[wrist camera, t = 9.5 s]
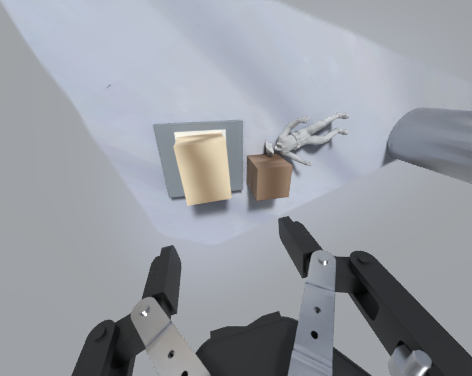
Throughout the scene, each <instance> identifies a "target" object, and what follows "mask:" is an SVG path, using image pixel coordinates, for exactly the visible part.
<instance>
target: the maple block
mask: <svg viewBox="0 0 472 376" xmlns="http://www.w3.org/2000/svg"><path fill="white" fill-rule="evenodd" d="M174 151H175V155H176V160H177V164H178V168H179V172H180V176H181V180H182V185H183V189H184V193H185V197H186V201H187V205H188V206H189V205H195V204H201V203H207V202H213V201H219V200H225V199H231V198H232V197H231V187H230V177H229V167H228V157H227V147H226V140H225V138H224V137H223V135H222V133H221V132H218V133H210V134H201V135H192V136H184V137H177V139H176V142H175V144H174Z"/></svg>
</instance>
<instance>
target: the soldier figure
mask: <svg viewBox="0 0 472 376" xmlns="http://www.w3.org/2000/svg"><path fill="white" fill-rule="evenodd" d="M348 117H349V114H348V113H341V112H338V113H336V114H335V115H333V116H330V117H327V118H326V119H324V120H321V121H318V122H317V123H315V124H312V125H310V126H307V127H306V128H304V129H300V130H298V131H295V132H293V133H291V134H292V135H288V134H289V132H290V130H291V129H293V128H294V127H295V126H297V125H298V124H299V123H307V122H305V121H310V120H306V119H310V117H309V116H305V117H302V118H300V119H297V120H295V121H293V122H292V123H290V124H289V125H287V127H286V128H285V129H284V130H283V132H282V133H281V134H280V135H279V137H278V141H277V144H276V145H275V150H277V151H280V153H281V155H284V156H287V157H289V158H291V159H293V160H295V161H297V162H299V163H302V164H305V165H308V166H311V165H312V163H310V162H307V161H303V159H302V158H300V157H298V156H297V155H295V154H294V153H292V152H290V151H291V150H296V149H299V148H300V147H301V146H304V145H305V144H324V143H325V142H328V141H329V140H330V139H331V138H332V137H333V136H334V135H336V134H337V133H340V134H343V135H347V133H348V132H347V130H345V129H341V128H340V127H337V128H336V129H335V130H333V131H331V132H330V133H328V134H326V135H324V136H323V137H322V136H317V135H312V134H314V133H315V132H316V131H319V130H321V129H323V128H324V127H325V126H326V125H328V124H329V123H330V122H332V121H333V120H335V119H336V118H342V119H347V118H348ZM272 144H273V143H271V144H270V143H269V142H267V141H266V152H267V153H268V155H274V152H275V151H274V150H273V147H272Z"/></svg>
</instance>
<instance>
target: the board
mask: <svg viewBox="0 0 472 376" xmlns="http://www.w3.org/2000/svg"><path fill="white" fill-rule="evenodd" d="M153 127H154V132H155V137H156V141H157V146H158V150H159V155H160V159H161V164H162V168H163V173H164V177H165V182H166V186H167V191H168V195H169V198H171V197H181V196H185V193H184V189H183V185H182V180H181V176H180V172H179V168H178V164H177V160H176V155H175V151H174V144H175V142H176V139H177V137H184V136H192V135H201V134H210V133H218V132H221V133H222V135H223V137H224V138H225V140H226V147H227V157H228V167H229V177H230V187H231V191H235V190H243V121H242V120H230V121H209V122H189V123H168V124H154V125H153Z"/></svg>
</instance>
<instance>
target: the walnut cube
mask: <svg viewBox="0 0 472 376" xmlns="http://www.w3.org/2000/svg"><path fill="white" fill-rule="evenodd" d="M291 174H292V165H291V164H290V163H288V162H287V161H286V160H284V159H283V158H282V157H281V156H279V155H278V154H277V153H274V155H268V154H260V155H248V156H247V184H248V186H249V188H250V190H251V192H252V194H253V195H254V197H255V199H256V201H259V200H268V199H276V198H284V197H289V189H290V182H291Z"/></svg>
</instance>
